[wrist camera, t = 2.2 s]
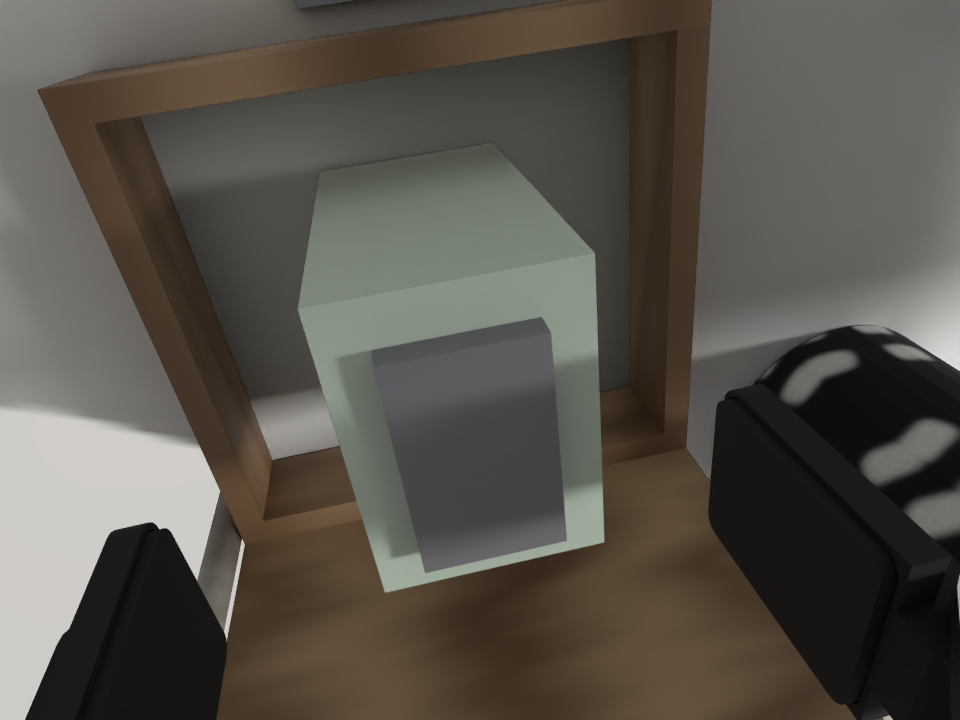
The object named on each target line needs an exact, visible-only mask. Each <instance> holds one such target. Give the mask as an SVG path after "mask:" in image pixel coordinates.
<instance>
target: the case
mask: <svg viewBox="0 0 960 720" xmlns="http://www.w3.org/2000/svg"><path fill="white" fill-rule="evenodd" d="M711 3H712V0H561V1H554V2H548V3H541V4H535V5H528V6H522V7H515V8H509V9H502V10H496V11H489V12H483V13H476V14H470V15H463V16H457V17H450V18H444V19H437V20H431V21H424V22H418V23H411V24H405V25H398V26H392V27H385V28H379V29H372V30H366V31H359V32H353V33H346V34H340V35H333V36H326V37H320V38H313V39H307V40H300V41H294V42H287V43H281V44H274V45H268V46H261V47H255V48H248V49H242V50H235V51H229V52H222V53H216V54H209V55H203V56H196V57H190V58H183V59H177V60H170V61H164V62H157V63H151V64H144V65H138V66H131V67H125V68H118V69H112V70H105V71H99V72H92V73H87V74H84V75H81V76H78V77H75V78H72V79H69V80H66V81H62V82H59V83H56V84H53V85H50V86H47V87H44V88H41V89H38V90H37V91H38V93H39V95H40V97H41V99H42V101H43V104H44V106H45V108H46V110H47V112H48V115H49V117H50V119H51V121H52V123H53V126H54V128H55V130H56V132H57V134H58V137H59V139H60V141H61V143H62V145H63V147H64V150H65V152H66V154H67V156H68V158H69V161H70V163H71V165H72V167H73V169H74V172H75V174H76V176H77V178H78V180H79V182H80V185H81V187H82V189H83V191H84V193H85V196H86V198H87V200H88V202H89V204H90V207H91V209H92V211H93V213H94V215H95V217H96V220H97V222H98V224H99V226H100V228H101V231H102V233H103V235H104V237H105V239H106V242H107V244H108V246H109V248H110V250H111V253H112V255H113V257H114V259H115V261H116V263H117V266H118V268H119V270H120V272H121V274H122V277H123V279H124V281H125V283H126V285H127V288H128V290H129V292H130V294H131V296H132V298H133V301H134V303H135V305H136V307H137V309H138V312H139V314H140V316H141V318H142V320H143V323H144V325H145V327H146V329H147V331H148V334H149V336H150V338H151V340H152V342H153V344H154V347H155V349H156V351H157V353H158V355H159V358H160V360H161V362H162V364H163V366H164V369H165V371H166V373H167V375H168V377H169V379H170V382H171V384H172V386H173V388H174V390H175V393H176V395H177V397H178V399H179V401H180V404H181V406H182V408H183V410H184V412H185V414H186V417H187V419H188V421H189V423H190V425H191V428H192V430H193V432H194V434H195V436H196V439H197V441H198V443H199V445H200V447H201V450H202V452H203V454H204V456H205V458H206V460H207V463H208V465H209V467H210V469H211V471H212V474H213V476H214V478H215V480H216V482H217V485H218V486H219V489H220V494H219V498H218V502H217V506H216V510H215V514H214V518H213V522H212V525H211V530H210V534H209V537H208V541H207V545H206V549H205V553H204V557H203V561H202V564H201V568H200V572H199V576H198V580H197V582H198V584H199V586H200V588H201V590H202V591H203V593H204V595H205V597H206V599H207V601H208V603H209V605H210V606H211V608H212V610H213V612H214V614H215V616H216V618H217V620H218V621H219V623H220V625H221V627H222V629H223V631H224V628H225V622H226V617H227V612H228V607H229V602H230V597H231V591H232V587H233V582H234V576H235V571H236V566H237V561H238V556H239V551H240V545H241V541H242V539H243V541H244V544H245V548H244V553H243V559H242V564H241V569H240V574H239V580H238V585H237V590H236V595H235V601H234V606H233V612H232V617H231V622H230V627H229V633H228V638H227V657H226V663H225V669H224V675H223V681H222V688H221V694H220V700H219V706H218V712H217V718H216V720H856V718H855V717H854V715H853V714H852V713H851V711H850V710H849V708H848V707H847V706H846V704H843V705H840V704H837V703H836V702H835V701H834V700H832V699H831V697H830V696H829V695H828V694H827V692H826V691H825V689H824V688H823V686H822V685H821V684H820V682H819V681H818V679H817V678H816V677H815V675H814V674H813V672H812V671H811V669H810V668H809V667H808V665H807V664H806V662H805V661H804V659H803V658H802V657H801V655H800V654H799V652H798V651H797V649H796V648H795V647H794V645H793V644H792V642H791V641H790V640H789V638H788V637H787V635H786V634H785V632H784V631H783V630H782V628H781V627H780V625H779V624H778V622H777V621H776V620H775V618H774V617H773V615H772V614H771V612H770V611H769V610H768V608H767V607H766V605H765V604H764V603H763V601H762V600H761V598H760V597H759V595H758V594H757V593H756V591H755V590H754V588H753V587H752V585H751V584H750V583H749V581H748V580H747V578H746V577H745V575H744V574H743V573H742V571H741V570H740V568H739V567H738V566H737V564H736V563H735V561H734V560H733V558H732V557H731V556H730V554H729V553H728V551H727V550H726V548H725V547H724V546H723V544H722V543H721V541H720V540H719V538H718V537H717V536H716V534H715V533H714V531H713V529H712V527H711V524H710V521H709V517H708V506H709V494H710V480H709V479H708V478H707V476H706V475H705V473H704V472H703V471H702V469H701V468H700V467H699V465H698V464H697V462H696V461H695V460H694V458H693V457H692V456H691V454H690V453H689V451H688V450H687V449H686V440H687V423H688V405H689V388H690V370H691V353H692V335H693V318H694V300H695V283H696V265H697V248H698V230H699V213H700V195H701V178H702V160H703V143H704V125H705V108H706V91H707V73H708V56H709V38H710V21H711ZM625 38H630V386H628V387H623V388H619V389H614V390H609V391H604V392H600V422H601V453H602V483H603V514H604V543H599V544H595V545H591V546H586V547H582V548H578V549H573V550H569V551H565V552H560V553H556V554H551V555H547V556H543V557H538V558H534V559H530V560H525V561H521V562H517V563H512V564H508V565H504V566H499V567H495V568H491V569H486V570H482V571H477V572H473V573H469V574H464V575H460V576H456V577H451V578H447V579H443V580H438V581H434V582H430V583H425V584H421V585H417V586H412V587H408V588H403V589H399V590H395V591H390V592H386V593H385V591H384V588H383V584H382V581H381V578H380V575H379V571H378V568H377V565H376V562H375V558H374V555H373V552H372V549H371V545H370V542H369V539H368V536H367V533H366V529H365V526H364V523H363V520H362V516H361V513H360V510H359V507H358V503H357V500H356V497H355V494H354V490H353V487H352V484H351V481H350V478H349V474H348V471H347V468H346V465H345V461H344V458H343V455H342V452H341V448H340V447H336V448H331V449H326V450H322V451H317V452H312V453H307V454H303V455H298V456H293V457H288V458H283V459H279V460H274V461H272V458H271V455H270V453H269V450H268V448H267V445H266V443H265V440H264V437H263V435H262V432H261V430H260V427H259V424H258V422H257V419H256V417H255V414H254V411H253V409H252V406H251V404H250V401H249V398H248V396H247V393H246V391H245V388H244V386H243V383H242V380H241V378H240V375H239V373H238V370H237V367H236V365H235V362H234V360H233V357H232V354H231V352H230V349H229V347H228V344H227V342H226V339H225V336H224V334H223V331H222V329H221V326H220V323H219V321H218V318H217V316H216V313H215V310H214V308H213V305H212V303H211V300H210V297H209V295H208V292H207V290H206V287H205V285H204V282H203V279H202V277H201V274H200V272H199V269H198V266H197V264H196V261H195V259H194V256H193V253H192V251H191V248H190V246H189V243H188V240H187V238H186V235H185V233H184V230H183V228H182V225H181V222H180V220H179V217H178V215H177V212H176V209H175V207H174V204H173V202H172V199H171V196H170V194H169V191H168V189H167V186H166V184H165V181H164V178H163V176H162V173H161V171H160V168H159V165H158V163H157V160H156V158H155V155H154V152H153V150H152V147H151V145H150V142H149V139H148V137H147V134H146V132H145V129H144V127H143V124H142V121H141V119H140V116H144V115H150V114H157V113H163V112H169V111H175V110H182V109H188V108H194V107H200V106H207V105H213V104H219V103H225V102H232V101H238V100H244V99H250V98H256V97H263V96H269V95H275V94H281V93H288V92H294V91H300V90H306V89H313V88H319V87H325V86H331V85H338V84H344V83H350V82H356V81H363V80H369V79H375V78H381V77H388V76H394V75H400V74H406V73H413V72H419V71H425V70H431V69H438V68H444V67H450V66H456V65H462V64H469V63H475V62H481V61H487V60H494V59H500V58H506V57H512V56H519V55H525V54H531V53H537V52H544V51H550V50H556V49H562V48H569V47H575V46H581V45H587V44H594V43H600V42H606V41H612V40H619V39H625ZM875 720H884V719H883V718H882V717H881V718H878V719H875Z"/></svg>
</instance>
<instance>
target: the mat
mask: <svg viewBox="0 0 960 720" xmlns="http://www.w3.org/2000/svg"><path fill="white" fill-rule="evenodd" d="M295 1H296V5H297V9H301V8H307V7H314V6H321V5H327V4H334V3H341V2H348V1H354V0H295Z"/></svg>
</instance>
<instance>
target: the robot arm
mask: <svg viewBox="0 0 960 720" xmlns="http://www.w3.org/2000/svg"><path fill="white" fill-rule="evenodd" d="M708 517H709V521H710V524H711V527H712V529H713V531H714V533H715V534H716V536H717V537H718V538H719V540H720V541H721V543H722V544H723V546H724V547H725V548H726V550H727V551H728V553H729V554H730V556H731V557H732V558H733V560H734V561H735V563H736V564H737V566H738V567H739V568H740V570H741V571H742V573H743V574H744V575H745V577H746V578H747V580H748V581H749V583H750V584H751V585H752V587H753V588H754V590H755V591H756V593H757V594H758V595H759V597H760V598H761V600H762V601H763V603H764V604H765V605H766V607H767V608H768V610H769V611H770V612H771V614H772V615H773V617H774V618H775V620H776V621H777V622H778V624H779V625H780V627H781V628H782V630H783V631H784V632H785V634H786V635H787V637H788V638H789V640H790V641H791V642H792V644H793V645H794V647H795V648H796V649H797V651H798V652H799V654H800V655H801V657H802V658H803V659H804V661H805V662H806V664H807V665H808V667H809V668H810V669H811V671H812V672H813V674H814V675H815V677H816V678H817V679H818V681H819V682H820V684H821V685H822V686H823V688H824V689H825V691H826V692H827V694H828V695H829V696H830V697H831V699H832V700H834V701H835V702H836V703H837V704H840V705H843V704H846V706H847V707H848V708H849V710H850V711H851V713H852V714H853V715H854V717H855V718H856V720H875V719H878V718H881V717H885V716H888V715H890V716H891V717H892V719H893V720H960V563H959V562H958V561H957V560H956V559H955V558H954V557H953V556H952V555H950V554H949V553H948V552H947V551H946V550H945V549H944V548H943V547H942V546H941V545H939V544H938V543H937V542H936V541H935V540H934V539H933V538H932V537H931V536H930V535H929V534H927V533H926V532H925V531H924V530H923V529H922V528H921V527H920V526H919V525H918V524H916V523H915V522H914V521H913V520H912V519H911V518H910V517H909V516H908V515H907V514H906V513H904V512H903V511H902V510H901V509H900V508H899V507H898V506H897V505H896V504H895V503H893V502H892V501H891V500H890V499H889V498H888V497H887V496H886V495H885V494H884V493H883V492H881V491H880V490H879V489H878V488H877V487H876V486H875V485H874V484H873V483H872V482H870V481H869V480H868V479H867V478H866V477H865V476H864V475H863V474H862V473H861V472H860V471H858V470H857V469H856V468H855V467H854V466H853V465H852V464H851V463H850V462H849V461H847V460H846V459H845V458H844V457H843V456H842V455H841V454H840V453H839V452H837V451H836V450H835V449H834V448H833V447H832V446H831V445H830V444H829V443H828V442H827V441H825V440H824V439H823V438H822V437H821V436H820V435H819V434H818V433H817V432H816V431H814V430H813V429H812V428H811V427H810V426H809V425H808V424H807V423H806V422H805V421H804V420H802V419H801V418H800V417H799V416H798V415H797V414H796V413H795V412H794V411H793V410H792V409H790V408H789V407H788V406H787V405H786V404H785V403H784V402H783V401H782V400H781V399H779V398H778V397H777V396H776V395H775V394H774V393H773V392H772V391H771V390H770V389H769V388H767V387H766V386H764V385H762V384H757V385H753V386H748V387H744V388H739V389H735V390H731V391H729V392H727V394H726V395H725V399H724V401H721V402H719V403H718V405H717V410H716V422H715V434H714V446H713V458H712V470H711V482H710V494H709V506H708ZM226 657H227V642H226V637H225V634H224V631H223V629H222V627H221V625H220V623H219V621H218V620H217V618H216V616H215V614H214V612H213V610H212V608H211V606H210V605H209V603H208V601H207V599H206V597H205V595H204V593H203V591H202V590H201V588H200V586H199V584H198V582H197V580H196V578H195V576H194V575H193V573H192V571H191V569H190V567H189V565H188V563H187V561H186V560H185V558H184V556H183V554H182V552H181V550H180V548H179V546H178V545H177V543H176V541H175V539H174V537H173V535H172V533H171V532H170V531H169V530H168V529H167V528H165V529H159V528H158V527H157V525H155V524H154V523H145V524H141V525H136V526H131V527H127V528H122V529H118V530H114V531H113V532H111V533H110V534H109V536H108V538H107V540H106V542H105V545H104V547H103V549H102V552H101V554H100V557H99V559H98V561H97V564H96V566H95V569H94V571H93V573H92V576H91V578H90V580H89V583H88V585H87V588H86V590H85V593H84V595H83V597H82V600H81V602H80V604H79V607H78V609H77V612H76V614H75V616H74V619H73V621H72V624H71V626H70V629H69V630H68V631H67V632H65V633H64V634H63V635H62V637H61V639H60V641H59V642H58V644H57V646H56V648H55V651H54V653H53V655H52V658H51V660H50V662H49V665H48V667H47V670H46V672H45V674H44V676H43V679H42V681H41V684H40V686H39V688H38V691H37V693H36V695H35V698H34V700H33V702H32V705H31V707H30V709H29V712H28V714H27V716H26V719H25V720H216V718H217V712H218V706H219V700H220V694H221V688H222V681H223V675H224V669H225V663H226Z"/></svg>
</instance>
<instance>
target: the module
mask: <svg viewBox="0 0 960 720" xmlns="http://www.w3.org/2000/svg"><path fill="white" fill-rule="evenodd" d="M298 312H299V316H300V319H301V322H302V325H303V329H304V332H305V335H306V338H307V342H308V345H309V348H310V351H311V355H312V358H313V361H314V364H315V367H316V371H317V374H318V377H319V380H320V384H321V387H322V390H323V393H324V397H325V400H326V403H327V406H328V410H329V413H330V416H331V419H332V422H333V426H334V429H335V432H336V435H337V439H338V442H339V445H340V448H341V452H342V455H343V458H344V461H345V465H346V468H347V471H348V474H349V478H350V481H351V484H352V487H353V490H354V494H355V497H356V500H357V503H358V507H359V510H360V513H361V516H362V520H363V523H364V526H365V529H366V533H367V536H368V539H369V542H370V545H371V549H372V552H373V555H374V558H375V562H376V565H377V568H378V571H379V575H380V578H381V581H382V584H383V588H384V591H385V593H386V592H390V591H395V590H399V589H403V588H408V587H412V586H417V585H421V584H425V583H430V582H434V581H438V580H443V579H447V578H451V577H456V576H460V575H464V574H469V573H473V572H477V571H482V570H486V569H491V568H495V567H499V566H504V565H508V564H512V563H517V562H521V561H525V560H530V559H534V558H538V557H543V556H547V555H551V554H556V553H560V552H565V551H569V550H573V549H578V548H582V547H586V546H591V545H595V544H599V543H604V514H603V483H602V453H601V422H600V391H599V360H598V329H597V298H596V267H595V253H594V252H593V250H592V249H591V248H590V247H589V246H588V245H587V244H586V243H585V242H584V241H583V240H582V238H581V237H580V236H579V235H578V234H577V233H576V232H575V231H574V230H573V229H572V228H571V227H570V225H569V224H568V223H567V222H566V221H565V220H564V219H563V218H562V217H561V216H560V215H559V213H558V212H557V211H556V210H555V209H554V208H553V207H552V206H551V205H550V204H549V203H548V202H547V200H546V199H545V198H544V197H543V196H542V195H541V194H540V193H539V192H538V191H537V190H536V189H535V187H534V186H533V185H532V184H531V183H530V182H529V181H528V180H527V179H526V178H525V177H524V175H523V174H522V173H521V172H520V171H519V170H518V169H517V168H516V167H515V166H514V165H513V164H512V162H511V161H510V160H509V159H508V158H507V157H506V156H505V155H504V154H503V153H502V152H501V150H500V149H499V148H498V147H497V146H496V145H495V144H494V143H493V142H491V143H486V144H480V145H474V146H468V147H462V148H456V149H451V150H445V151H439V152H433V153H427V154H422V155H416V156H410V157H404V158H398V159H392V160H387V161H381V162H375V163H369V164H363V165H357V166H352V167H346V168H340V169H334V170H328V171H322V172H320V173H319V180H318V186H317V192H316V198H315V204H314V211H313V217H312V223H311V229H310V236H309V242H308V248H307V254H306V260H305V267H304V273H303V279H302V285H301V291H300V298H299V304H298Z"/></svg>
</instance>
